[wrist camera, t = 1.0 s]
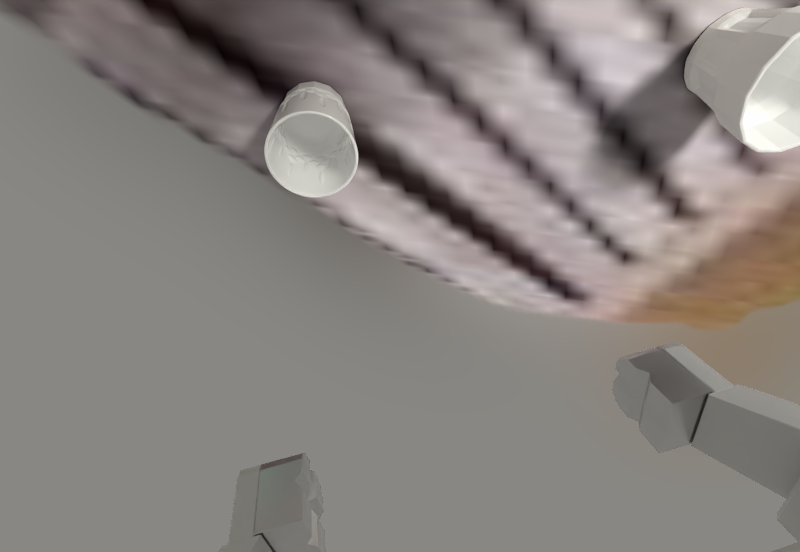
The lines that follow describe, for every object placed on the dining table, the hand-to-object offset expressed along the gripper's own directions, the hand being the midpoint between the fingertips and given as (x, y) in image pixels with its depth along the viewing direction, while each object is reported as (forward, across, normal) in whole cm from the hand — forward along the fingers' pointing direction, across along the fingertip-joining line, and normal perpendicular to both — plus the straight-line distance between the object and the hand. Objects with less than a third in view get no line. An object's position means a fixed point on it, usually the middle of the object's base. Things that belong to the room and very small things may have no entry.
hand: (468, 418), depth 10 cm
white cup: (+40, +2, -2) cm, 40 cm away
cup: (+35, -42, +1) cm, 55 cm away
